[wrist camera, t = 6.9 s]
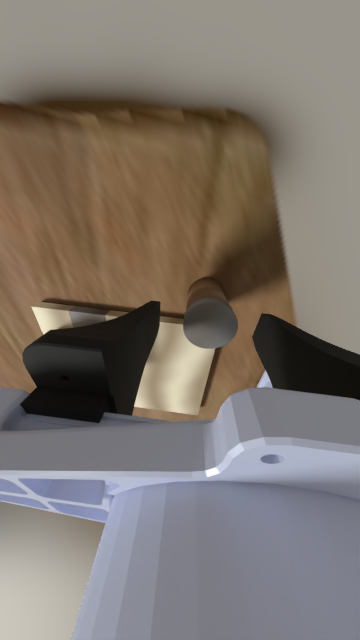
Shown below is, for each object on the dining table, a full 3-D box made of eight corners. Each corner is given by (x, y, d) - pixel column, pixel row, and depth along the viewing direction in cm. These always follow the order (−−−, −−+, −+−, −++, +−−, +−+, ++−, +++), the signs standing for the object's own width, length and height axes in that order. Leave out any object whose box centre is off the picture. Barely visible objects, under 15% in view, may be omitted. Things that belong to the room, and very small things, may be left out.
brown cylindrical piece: (227, 279, 15) (244, 307, 10) (219, 313, 17) (230, 351, 12) (189, 275, 15) (186, 300, 10) (185, 309, 17) (180, 345, 12)
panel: (218, 323, 17) (220, 329, 16) (197, 407, 25) (197, 415, 24) (40, 301, 18) (31, 306, 17) (75, 391, 26) (71, 397, 25)
